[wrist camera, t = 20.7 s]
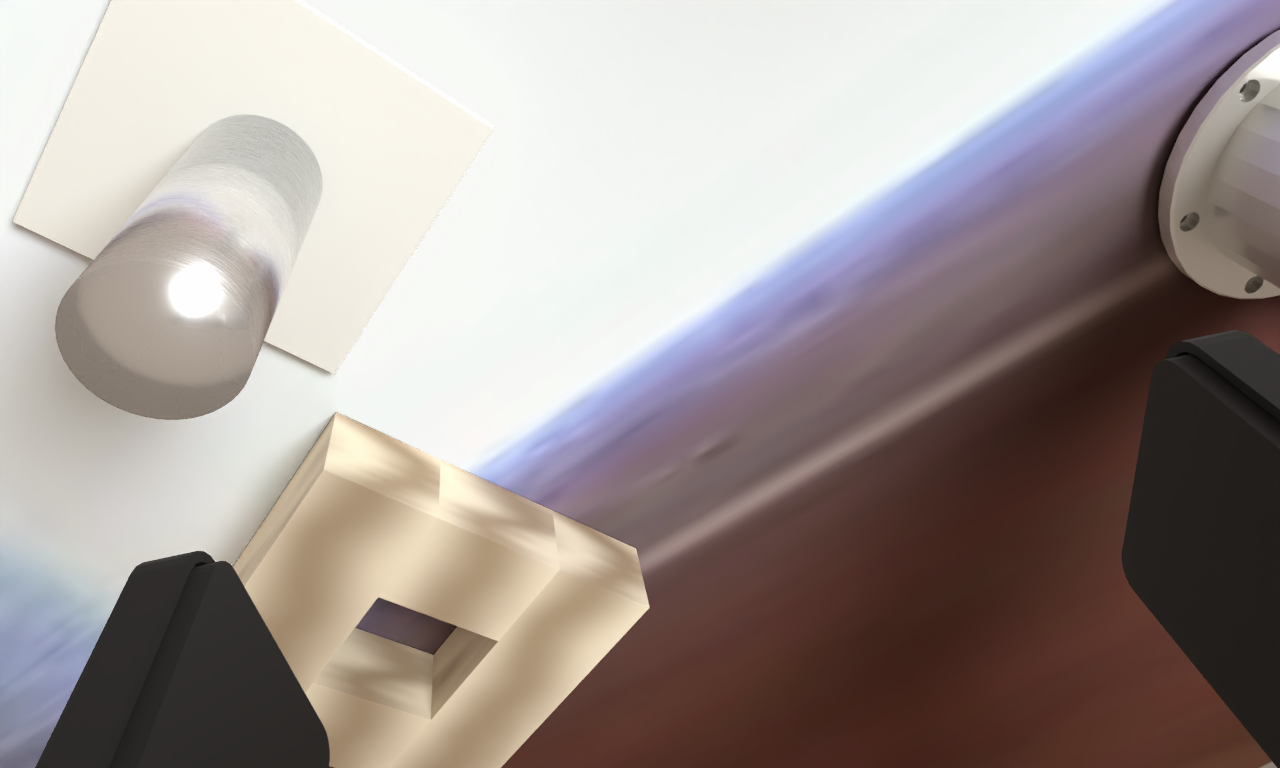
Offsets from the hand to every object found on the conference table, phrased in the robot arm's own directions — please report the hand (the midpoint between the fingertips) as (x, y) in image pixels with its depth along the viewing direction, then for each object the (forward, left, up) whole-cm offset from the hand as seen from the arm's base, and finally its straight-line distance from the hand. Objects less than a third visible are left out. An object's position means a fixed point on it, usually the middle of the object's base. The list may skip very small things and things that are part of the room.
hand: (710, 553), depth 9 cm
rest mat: (+5, +10, -27) cm, 29 cm away
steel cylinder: (+5, +10, -26) cm, 28 cm away
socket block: (-10, +26, -27) cm, 38 cm away
